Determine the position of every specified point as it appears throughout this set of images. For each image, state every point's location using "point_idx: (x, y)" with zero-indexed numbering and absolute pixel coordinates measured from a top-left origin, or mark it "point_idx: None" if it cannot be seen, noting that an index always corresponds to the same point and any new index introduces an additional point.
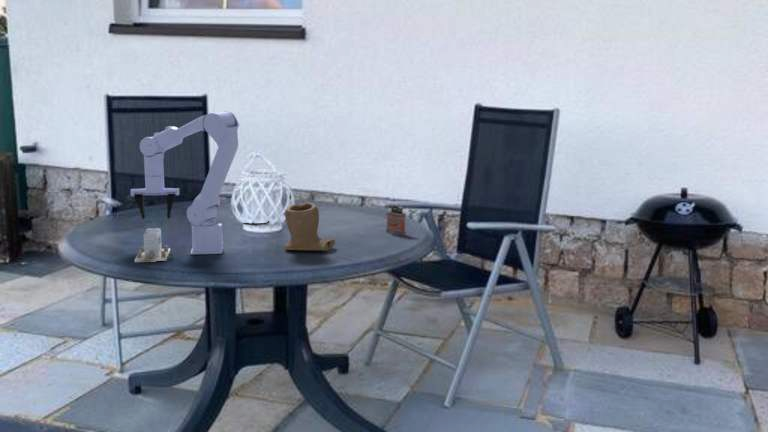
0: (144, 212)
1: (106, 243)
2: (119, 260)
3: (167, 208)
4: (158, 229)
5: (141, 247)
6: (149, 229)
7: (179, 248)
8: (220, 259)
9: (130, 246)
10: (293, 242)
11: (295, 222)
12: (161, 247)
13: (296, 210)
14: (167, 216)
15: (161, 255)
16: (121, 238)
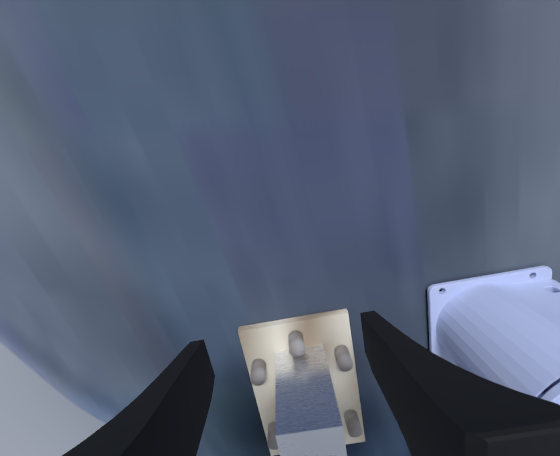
0: (195, 383)
1: (40, 217)
2: (217, 433)
3: (401, 430)
4: (337, 446)
5: (257, 383)
6: (292, 450)
7: (373, 277)
8: None
9: (168, 261)
10: None
11: None
12: (325, 356)
13: None
14: (371, 364)
15: (339, 402)
16: (48, 108)
